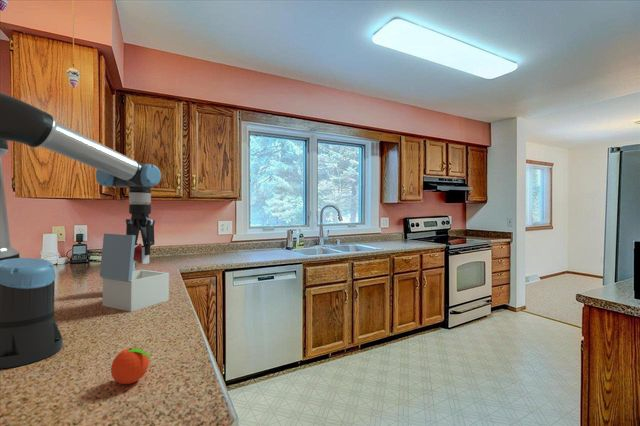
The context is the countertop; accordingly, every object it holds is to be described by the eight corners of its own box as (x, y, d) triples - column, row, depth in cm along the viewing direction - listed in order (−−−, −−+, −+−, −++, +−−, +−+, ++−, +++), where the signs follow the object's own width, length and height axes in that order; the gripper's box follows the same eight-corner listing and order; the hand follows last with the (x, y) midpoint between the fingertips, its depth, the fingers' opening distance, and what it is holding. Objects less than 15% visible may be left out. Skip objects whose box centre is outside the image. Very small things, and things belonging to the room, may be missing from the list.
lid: (131, 282, 113) (128, 282, 112) (102, 277, 120) (99, 278, 119) (135, 235, 115) (132, 235, 113) (107, 233, 121) (103, 233, 120)
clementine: (160, 374, 71) (160, 342, 71) (141, 391, 64) (141, 356, 64) (124, 372, 71) (125, 341, 71) (102, 390, 64) (102, 355, 64)
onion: (128, 263, 124) (128, 243, 124) (142, 261, 129) (142, 242, 129) (137, 265, 121) (137, 244, 121) (151, 263, 126) (151, 243, 126)
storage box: (131, 311, 113) (131, 280, 113) (102, 305, 120) (102, 276, 120) (168, 300, 128) (169, 273, 128) (141, 295, 135) (141, 269, 134)
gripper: (165, 204, 124) (165, 263, 125) (132, 204, 132) (132, 259, 132) (148, 203, 117) (147, 266, 118) (115, 203, 125) (114, 262, 125)
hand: (139, 262), depth 125 cm, fingers closed on onion, 6 cm apart
